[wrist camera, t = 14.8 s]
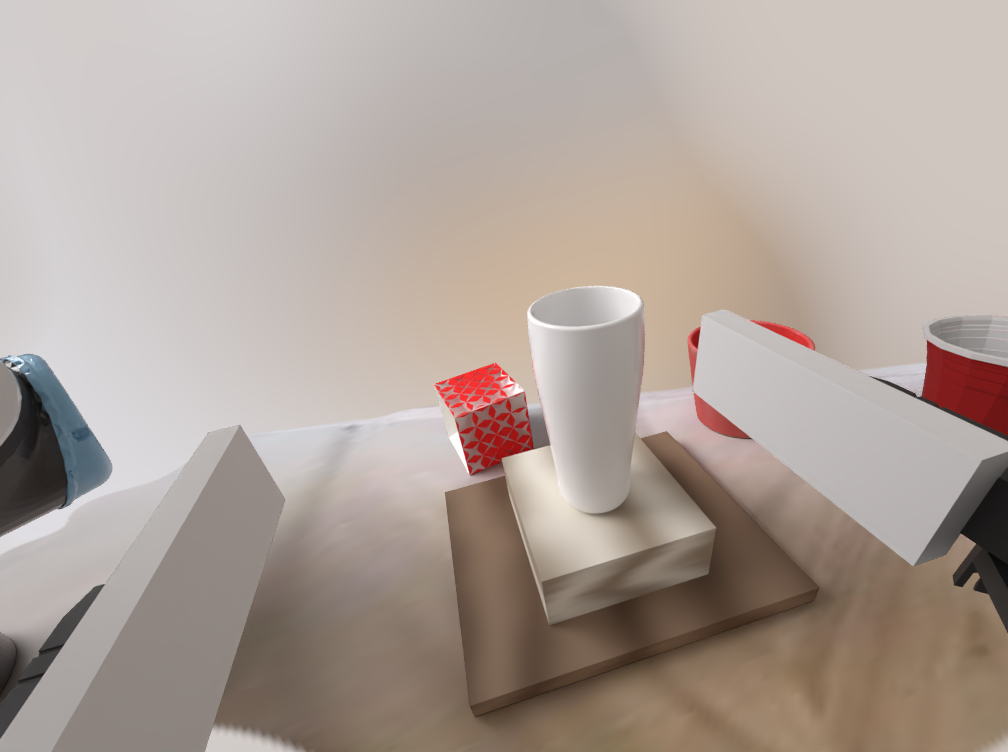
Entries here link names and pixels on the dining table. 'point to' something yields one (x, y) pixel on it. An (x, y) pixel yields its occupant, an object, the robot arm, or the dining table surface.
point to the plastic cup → (969, 367)
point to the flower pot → (706, 411)
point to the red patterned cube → (485, 416)
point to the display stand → (603, 572)
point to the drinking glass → (589, 388)
